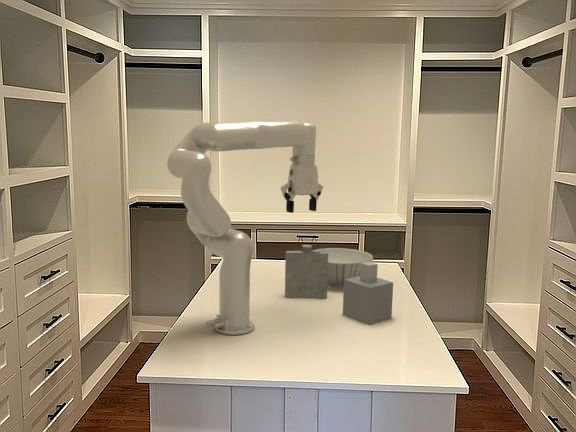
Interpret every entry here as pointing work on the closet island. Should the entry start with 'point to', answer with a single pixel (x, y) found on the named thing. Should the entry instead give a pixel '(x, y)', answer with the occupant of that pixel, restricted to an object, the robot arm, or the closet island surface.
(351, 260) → the decorative bowl
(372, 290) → the grey stepped block
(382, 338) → the closet island surface
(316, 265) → the hip flask
